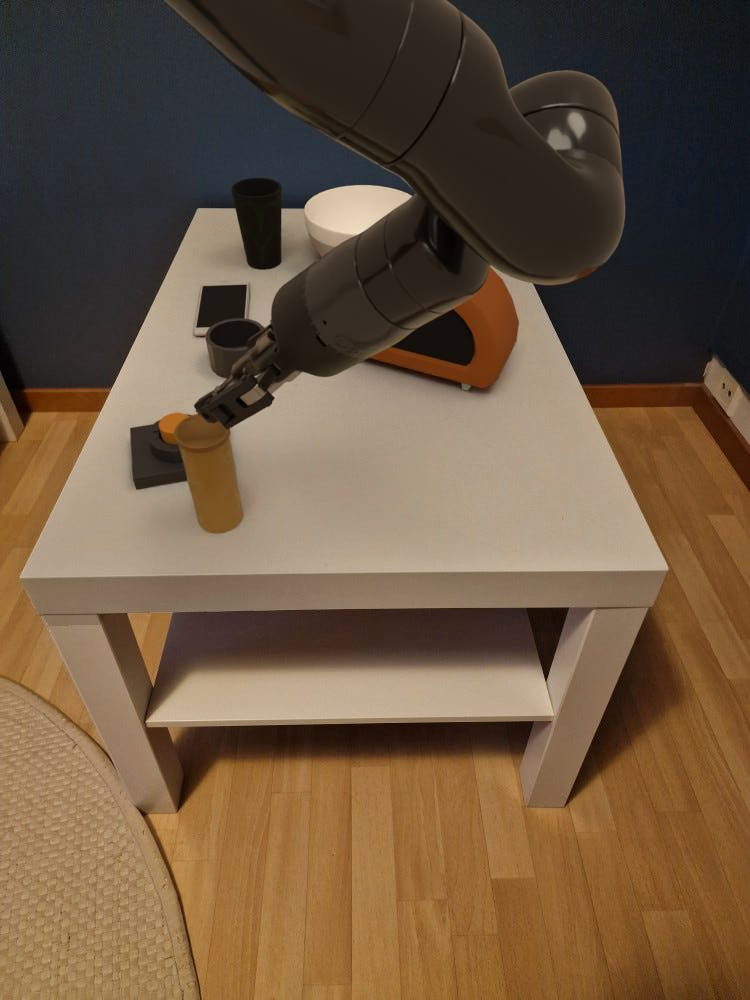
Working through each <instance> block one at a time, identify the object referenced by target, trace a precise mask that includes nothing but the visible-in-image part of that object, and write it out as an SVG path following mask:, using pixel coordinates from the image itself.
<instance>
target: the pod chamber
mask: <svg viewBox="0 0 750 1000" xmlns="http://www.w3.org/2000/svg"><path fill="white" fill-rule="evenodd" d="M264 328H265V326H264V325H262V324H261V323H260V322H259V321H256V320H253V319H251V318H247V319H244V318H234V319H226V320H223V321H220V322H218V323H215V324H214V325H213V326H211V327H210V328H209V329H208V330H207V332H206V334H205V336H204V338H205V343H206V344H205V345H206V348H207V353H208V354H207V355H208V358H209V364H210V369H211V370H212V372H213V373H215V374H216V375H217V376H219V377H221V378H224V379H226V380H227V379H228V378H229V377H230V376H231V370H232V367H233V365H234V364H235V363H236V362H237V361H238V360H239V359H240V358H241V357H243V356H244V355H245V354H246V353H247V352H248V351H249V349H248V348H247V346H246V342H247V341H248V340H249V338H250V337H252V336H253V335H255V334H256V333H258V332H259V331H261V330H262V329H264ZM244 368H245V370H246V371H247V372H248V373H252V375H253V376H254V377H257V376H258V375H259V374H260V373H259V372H258V371H257V370H256V369H255V368H254V366H253V364H252V361H251V362H250V363H249V364H248V365H246V366H245V367H244Z"/></svg>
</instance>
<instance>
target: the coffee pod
mask: <svg viewBox="0 0 750 1000" xmlns="http://www.w3.org/2000/svg"><path fill="white" fill-rule="evenodd" d="M191 415H192V416H189V417H187V418H185V419H183V420H182V421H181V422H180V423H179V424H178V425H177V426H176V428H175V430H174V438H175V441H176V443H177V445H178V446H179V448H180V452H181V456H182V460H183V464H184V468H185V472H186V476H187V484H188V487H189V491H190V496H191V500H192V503H193V507H194V512H195V515H196V519H197V523H198V525H199V527H201V529H203V530H204V531H206V532H208V533H213V534H221V533H227V532H230V531H232V530H234V529H235V528H237V527H238V526H239V525H240V524H241V522H242V520H243V517H244V510H243V504H242V499H241V493H240V488H239V482H238V476H237V470H236V466H235V460H234V454H233V450H232V444H231V438H230V437H231V428H230V429H228V430H226V429H225V428H224V427H223V426H222V424H221V423H220V422H219V421H217V422H215V423H208V422H207V421H206V420H205V419H203V418H202V417H201V416H200V415H199V414H198V413H195V414H191Z"/></svg>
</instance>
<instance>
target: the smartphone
mask: <svg viewBox="0 0 750 1000" xmlns="http://www.w3.org/2000/svg"><path fill="white" fill-rule="evenodd" d="M250 284H251V283H250V281H249V280H248V279H245V280H243V279H241V280H220V281H219V280H216V281H215V280H214V281H211V280H210V281H203V282H201V284H200V291H199V296H198V303H197V308H196V314H195V319H194V320H195V321H194V327H193V336H195V337H205V334H206V332H207V330H208V329H209V328H210V327H211V326H213V325H214V324H215V323H218V322H220V321H223V320H226V319H234V318H244V319H249V318H248V316H249V303H250V287H251V285H250Z"/></svg>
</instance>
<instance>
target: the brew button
mask: <svg viewBox="0 0 750 1000" xmlns="http://www.w3.org/2000/svg"><path fill="white" fill-rule="evenodd" d="M187 414H188V413H183V412H172V413H169V414H166V415H165V416H163V417H162V418H161V419H159V420H160V422H159V429H160V432H161V436H162V439H163V440H164V441H165V442H166V443H169V444H177V443H176V441H175V438H174V430H175V428H176V426H177V425H178V424H179V423H180V422H181V421H182V420H183V419H185V418H187V417H189V416H188V415H187Z"/></svg>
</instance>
